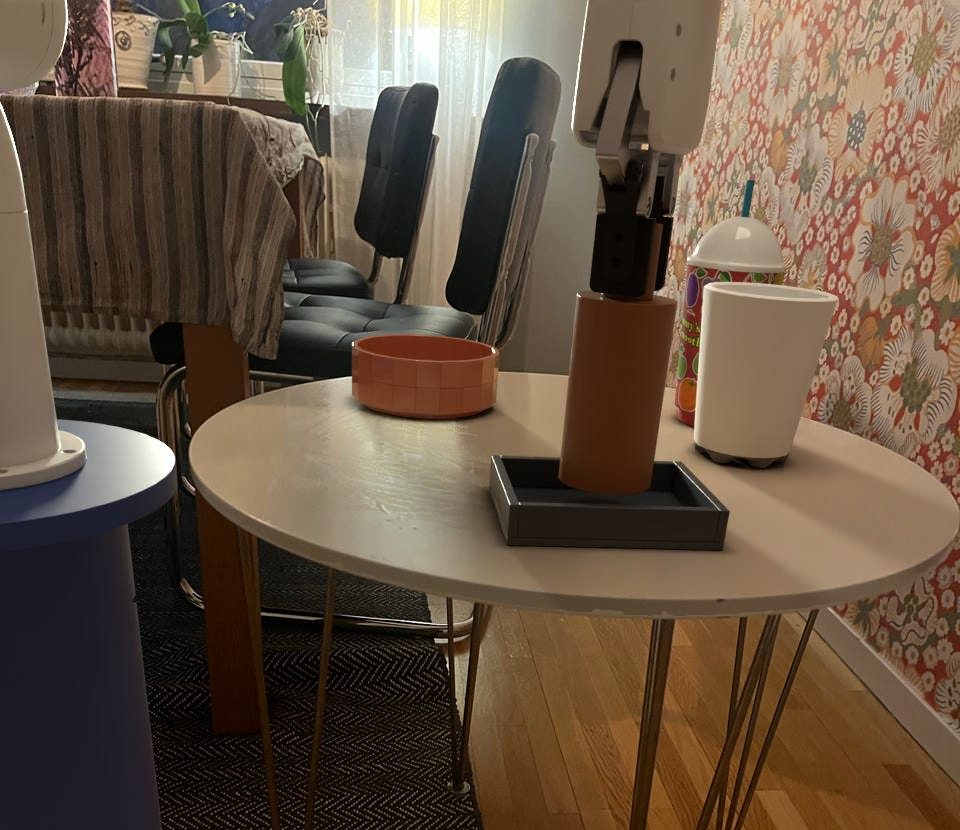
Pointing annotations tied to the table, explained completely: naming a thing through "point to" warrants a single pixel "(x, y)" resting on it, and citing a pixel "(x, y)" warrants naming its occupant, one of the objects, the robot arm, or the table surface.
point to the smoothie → (722, 258)
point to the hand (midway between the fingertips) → (627, 287)
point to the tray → (604, 509)
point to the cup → (756, 367)
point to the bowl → (424, 375)
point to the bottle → (616, 387)
